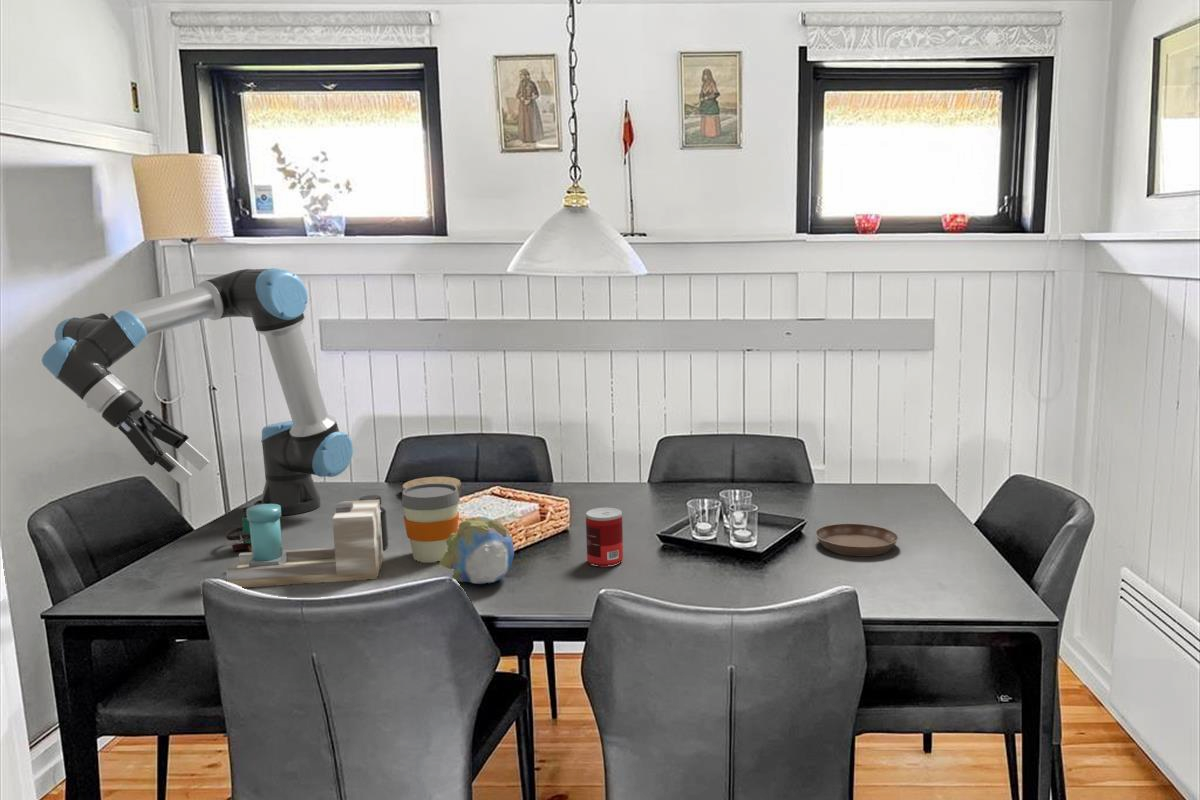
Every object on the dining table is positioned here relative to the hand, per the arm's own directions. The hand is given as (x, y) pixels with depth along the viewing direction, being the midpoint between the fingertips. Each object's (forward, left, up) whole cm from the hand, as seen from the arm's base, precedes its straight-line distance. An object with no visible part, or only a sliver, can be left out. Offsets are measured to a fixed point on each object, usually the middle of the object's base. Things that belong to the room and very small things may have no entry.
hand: (196, 473), depth 197 cm
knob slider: (0, +13, -21) cm, 25 cm away
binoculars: (-20, +4, -23) cm, 31 cm away
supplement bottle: (-14, +33, -23) cm, 43 cm away
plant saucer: (+5, +140, -23) cm, 142 cm away
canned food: (+5, +84, -23) cm, 87 cm away
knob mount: (0, +21, -23) cm, 31 cm away
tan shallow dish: (-61, +44, -23) cm, 78 cm away
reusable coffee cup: (-6, +47, -23) cm, 53 cm away
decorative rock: (+11, +57, -23) cm, 62 cm away
